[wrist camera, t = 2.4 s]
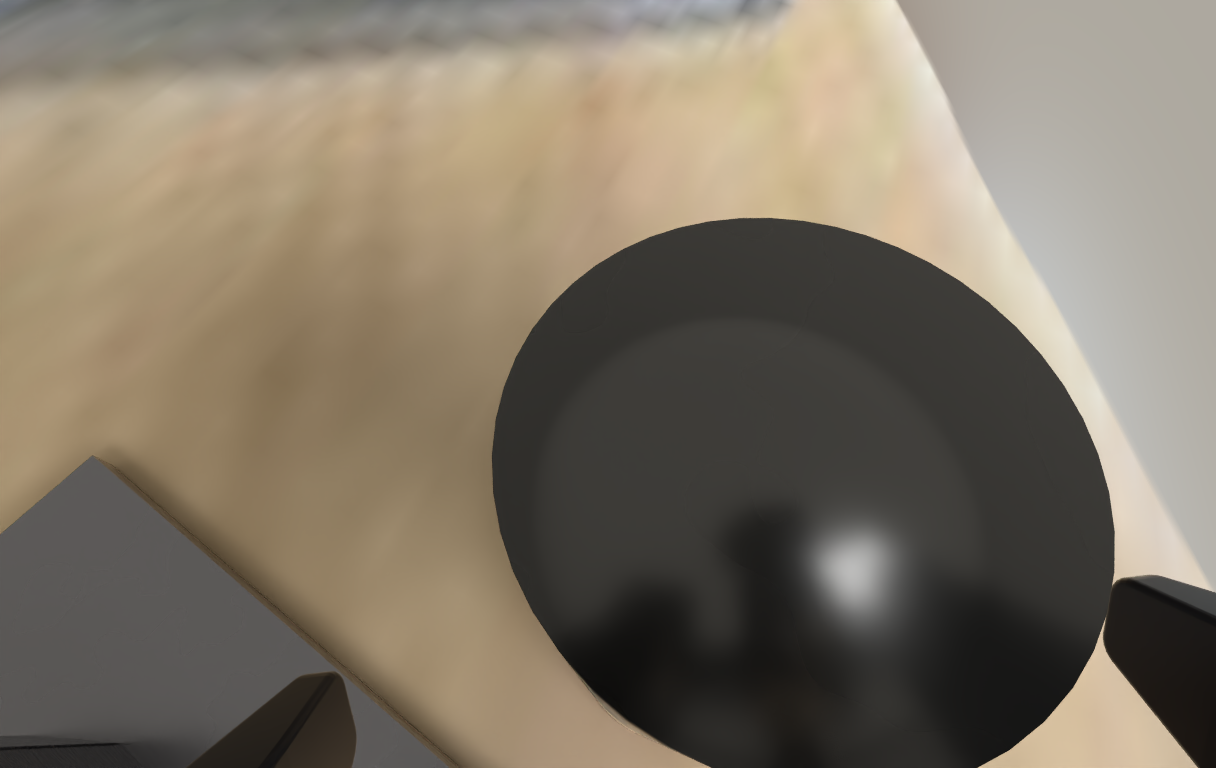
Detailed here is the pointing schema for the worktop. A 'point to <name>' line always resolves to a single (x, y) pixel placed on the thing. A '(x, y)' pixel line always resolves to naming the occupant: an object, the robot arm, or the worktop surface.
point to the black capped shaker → (802, 502)
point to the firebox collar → (147, 641)
